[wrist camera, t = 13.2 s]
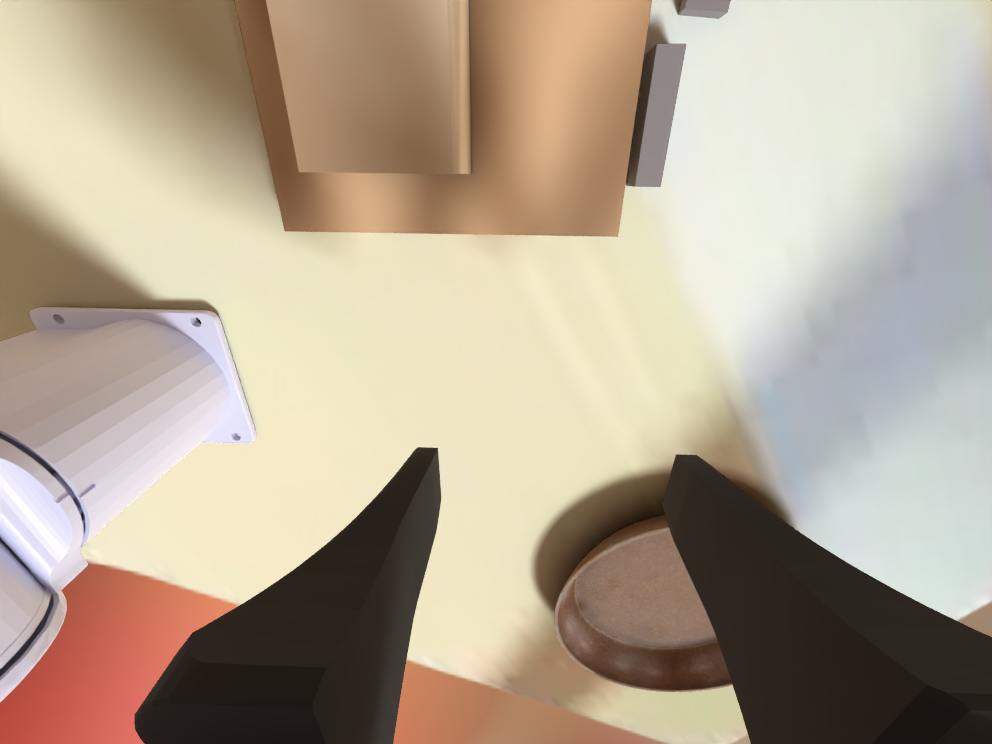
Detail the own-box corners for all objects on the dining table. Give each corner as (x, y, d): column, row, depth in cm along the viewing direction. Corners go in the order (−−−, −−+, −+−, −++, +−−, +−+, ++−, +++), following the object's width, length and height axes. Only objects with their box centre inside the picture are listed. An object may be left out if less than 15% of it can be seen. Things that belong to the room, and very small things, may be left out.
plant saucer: (525, 632, 32) (526, 675, 29) (594, 465, 24) (605, 502, 21) (729, 665, 33) (749, 709, 30) (859, 515, 25) (901, 556, 22)
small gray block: (635, 186, 16) (660, 186, 16) (657, 43, 14) (686, 43, 14) (625, 185, 17) (648, 185, 17) (644, 55, 15) (671, 55, 15)
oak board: (301, 226, 18) (284, 231, 17) (201, -274, 12) (161, -332, 10) (609, 231, 18) (618, 236, 16) (678, -280, 11) (701, -340, 10)
